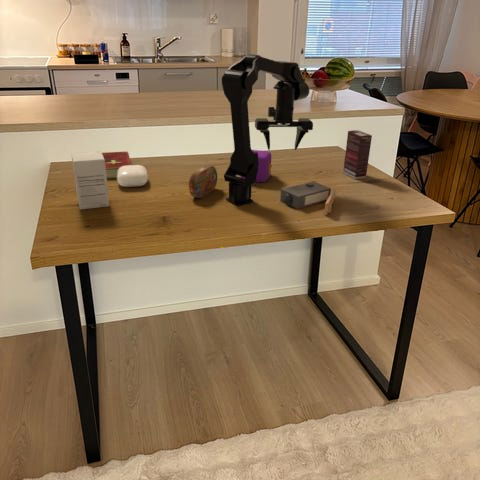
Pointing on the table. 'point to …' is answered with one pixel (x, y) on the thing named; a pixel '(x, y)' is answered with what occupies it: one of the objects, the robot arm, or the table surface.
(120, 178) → the earbud case
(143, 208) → the table surface
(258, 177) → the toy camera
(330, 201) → the side door
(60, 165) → the table surface
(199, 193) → the tin
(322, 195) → the block
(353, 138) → the supplement box
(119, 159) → the hardcover book
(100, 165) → the supplement box
